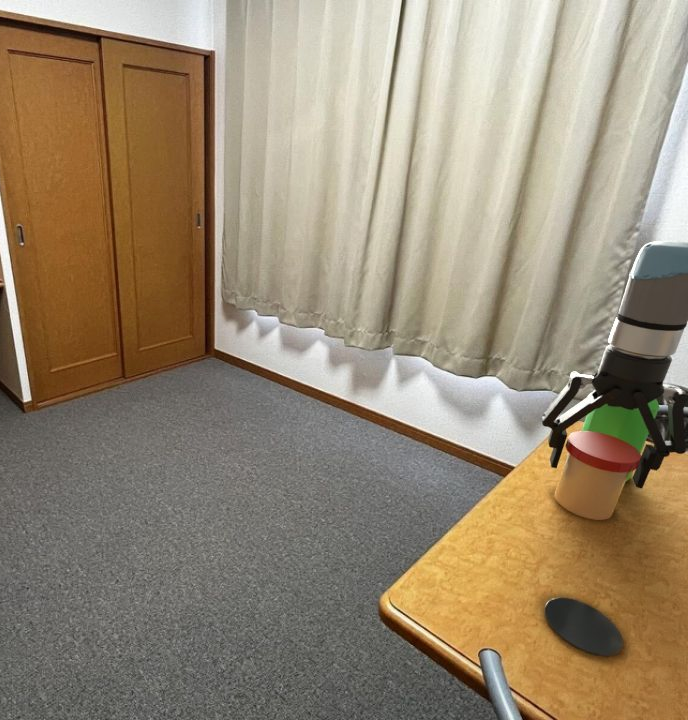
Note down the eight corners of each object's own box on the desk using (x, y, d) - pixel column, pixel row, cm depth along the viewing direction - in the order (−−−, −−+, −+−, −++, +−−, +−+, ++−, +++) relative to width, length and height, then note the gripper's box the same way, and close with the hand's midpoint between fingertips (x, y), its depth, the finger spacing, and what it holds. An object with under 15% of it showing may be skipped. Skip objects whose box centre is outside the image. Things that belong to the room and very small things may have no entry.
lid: (570, 433, 83) (573, 424, 82) (639, 454, 77) (643, 444, 76) (560, 456, 77) (563, 447, 76) (634, 480, 71) (638, 470, 70)
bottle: (565, 471, 90) (607, 349, 80) (575, 452, 95) (615, 336, 85) (625, 493, 84) (678, 364, 74) (632, 471, 89) (682, 348, 79)
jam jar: (607, 499, 82) (629, 443, 78) (615, 528, 76) (639, 469, 72) (551, 485, 86) (569, 431, 82) (555, 512, 80) (575, 454, 75)
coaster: (614, 617, 62) (616, 613, 61) (627, 671, 55) (629, 666, 55) (541, 592, 65) (542, 588, 65) (545, 640, 59) (546, 635, 59)
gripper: (737, 354, 67) (679, 481, 76) (544, 330, 78) (512, 443, 87) (760, 374, 61) (694, 509, 70) (547, 345, 72) (513, 465, 81)
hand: (593, 473), depth 78 cm, fingers open, 10 cm apart
